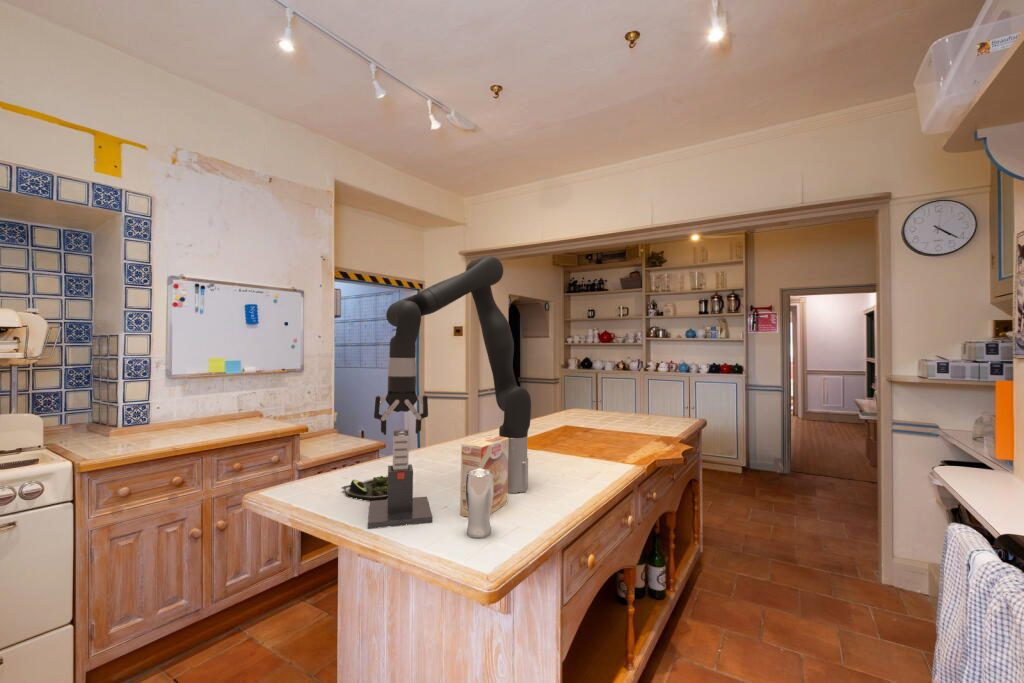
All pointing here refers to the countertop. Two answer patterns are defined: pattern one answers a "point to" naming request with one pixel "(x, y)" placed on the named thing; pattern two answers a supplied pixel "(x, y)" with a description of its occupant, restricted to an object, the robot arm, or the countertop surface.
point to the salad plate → (368, 489)
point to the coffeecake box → (486, 467)
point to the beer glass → (479, 502)
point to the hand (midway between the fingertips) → (400, 433)
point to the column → (400, 449)
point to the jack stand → (399, 503)
